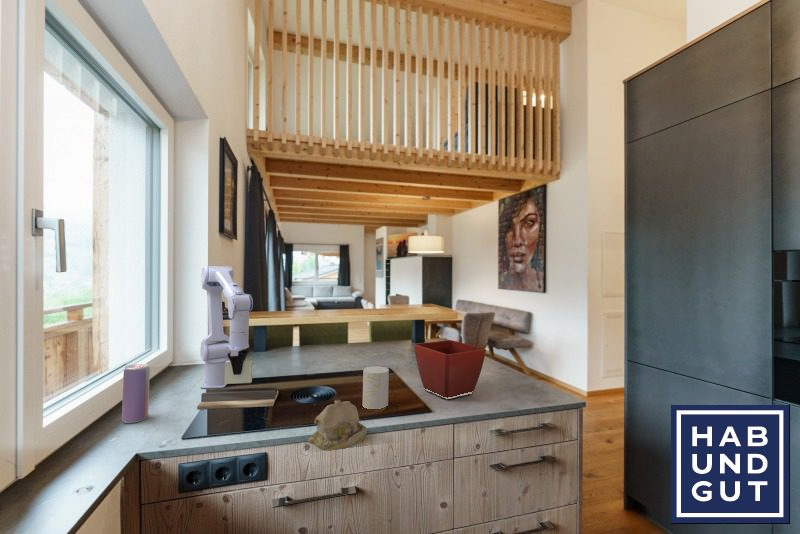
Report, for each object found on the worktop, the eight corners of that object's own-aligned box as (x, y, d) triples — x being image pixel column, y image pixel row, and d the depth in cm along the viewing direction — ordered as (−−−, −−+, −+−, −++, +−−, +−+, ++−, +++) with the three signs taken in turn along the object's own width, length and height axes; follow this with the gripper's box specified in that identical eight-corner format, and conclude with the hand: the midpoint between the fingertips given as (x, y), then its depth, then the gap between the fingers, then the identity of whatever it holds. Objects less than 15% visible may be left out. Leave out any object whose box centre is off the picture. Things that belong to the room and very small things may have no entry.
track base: (210, 395, 121) (210, 385, 121) (278, 393, 125) (278, 383, 125) (197, 409, 109) (197, 397, 109) (272, 406, 113) (273, 394, 113)
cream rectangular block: (225, 382, 117) (226, 360, 117) (251, 381, 119) (252, 359, 119) (224, 383, 115) (225, 362, 115) (251, 382, 117) (251, 361, 117)
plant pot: (486, 396, 127) (487, 348, 128) (446, 406, 117) (447, 354, 117) (450, 381, 143) (451, 339, 144) (411, 389, 132) (412, 344, 133)
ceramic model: (319, 455, 84) (320, 412, 84) (303, 436, 93) (304, 398, 93) (372, 441, 91) (373, 401, 92) (352, 425, 101) (353, 389, 101)
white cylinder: (357, 407, 114) (358, 369, 114) (375, 401, 120) (376, 365, 120) (374, 414, 108) (375, 374, 109) (393, 407, 114) (394, 369, 114)
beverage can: (134, 425, 97) (136, 369, 97) (116, 422, 98) (118, 367, 99) (153, 416, 103) (155, 364, 103) (136, 414, 104) (138, 362, 104)
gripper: (230, 328, 123) (229, 368, 123) (220, 335, 109) (219, 380, 109) (252, 328, 125) (251, 367, 125) (245, 335, 111) (244, 379, 111)
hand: (238, 373), depth 117 cm, fingers closed on cream rectangular block, 2 cm apart
